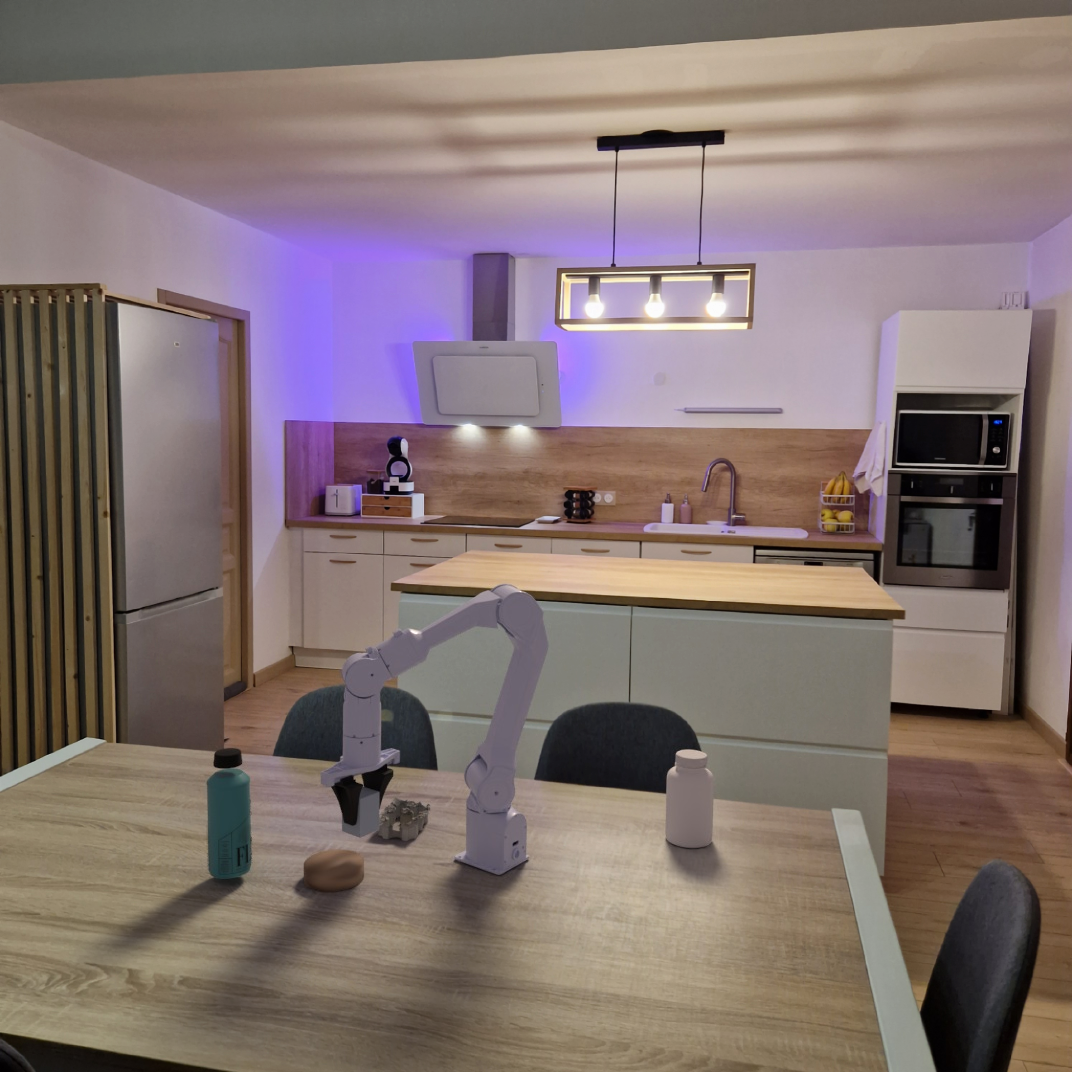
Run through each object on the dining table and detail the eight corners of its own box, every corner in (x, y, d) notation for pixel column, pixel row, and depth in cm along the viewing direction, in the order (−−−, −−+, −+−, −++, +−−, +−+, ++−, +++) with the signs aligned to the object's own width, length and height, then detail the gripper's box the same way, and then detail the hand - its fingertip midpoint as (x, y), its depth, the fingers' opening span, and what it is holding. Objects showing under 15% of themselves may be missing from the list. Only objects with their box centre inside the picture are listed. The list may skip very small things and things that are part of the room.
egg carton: (413, 844, 155) (413, 820, 155) (371, 839, 157) (371, 816, 157) (434, 819, 166) (434, 797, 165) (394, 815, 167) (394, 793, 167)
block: (379, 829, 144) (379, 791, 143) (359, 837, 141) (360, 799, 140) (361, 823, 146) (361, 786, 146) (341, 831, 143) (341, 793, 142)
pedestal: (376, 875, 143) (376, 860, 143) (331, 897, 136) (331, 881, 135) (336, 859, 148) (336, 844, 148) (291, 880, 141) (291, 864, 141)
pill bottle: (709, 831, 162) (712, 747, 161) (714, 851, 154) (717, 763, 153) (664, 828, 163) (666, 745, 161) (665, 848, 155) (668, 760, 154)
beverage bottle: (238, 891, 137) (237, 759, 135) (198, 886, 138) (196, 755, 137) (260, 872, 143) (259, 745, 142) (221, 867, 145) (219, 742, 143)
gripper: (378, 717, 150) (377, 799, 151) (307, 738, 138) (306, 826, 140) (409, 726, 146) (408, 810, 147) (339, 748, 134) (338, 839, 135)
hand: (361, 819), depth 143 cm, fingers closed on block, 4 cm apart
